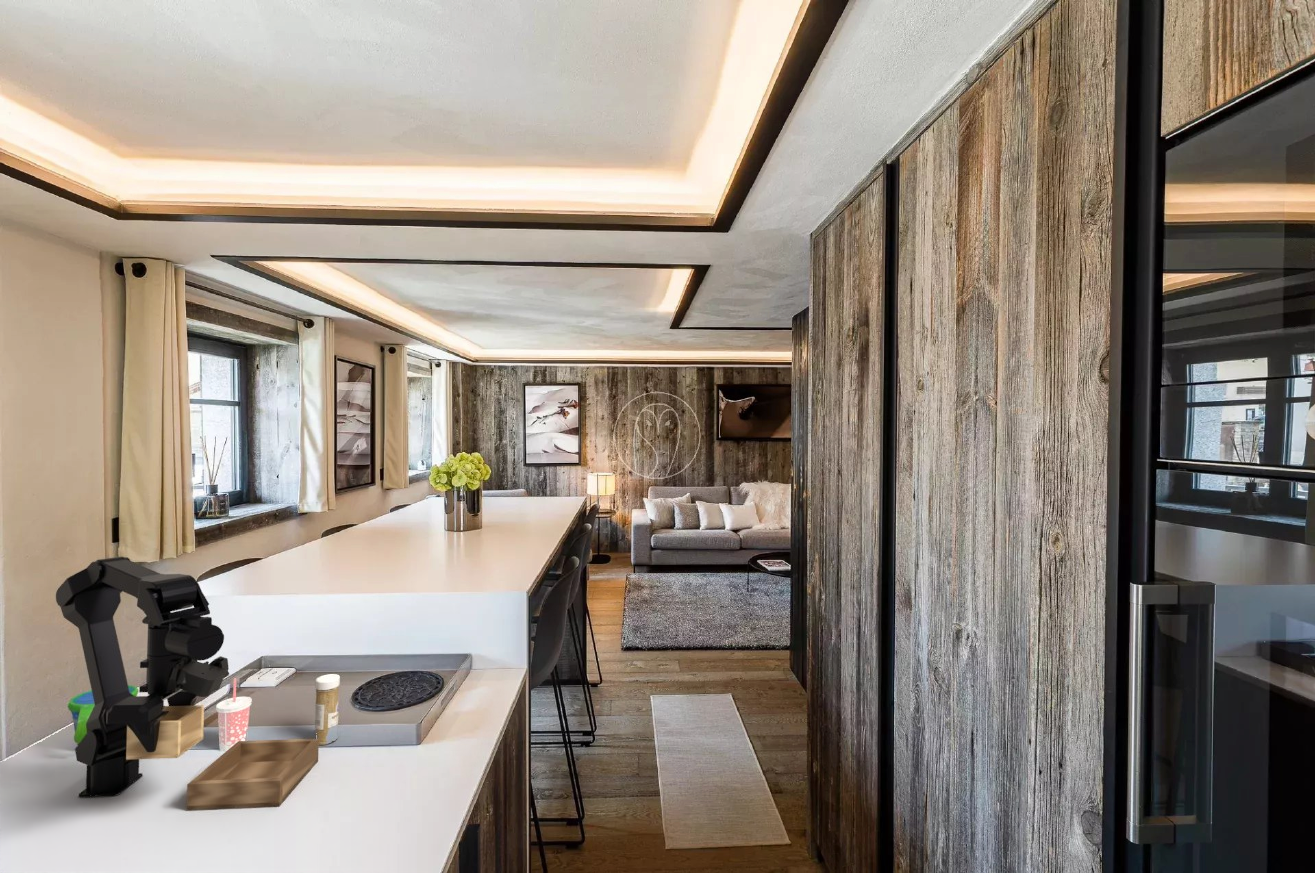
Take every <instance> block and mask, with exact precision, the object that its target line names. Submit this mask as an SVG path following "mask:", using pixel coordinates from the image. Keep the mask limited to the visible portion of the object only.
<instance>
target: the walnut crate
mask: <svg viewBox="0 0 1315 873" xmlns="http://www.w3.org/2000/svg"><path fill="white" fill-rule="evenodd" d="M319 746H320V745H319V739H315V738H297V739H295V738H293V739H292V738H290V739H269V740H268V739H263V740H247V741H238V742H237V743H236V744H234V745H233V746H232V747H231V748H230V749H228V750H227V751H226V752H225V751H224V753H223V754H221V755H220V756H219V757H218V758H217V759H216V760H214V761H213V762H212V763H210V764H209V765H208V766H207V767H206V768H205V769H203V771H201V772H200V773H199V774H198V775H197V776H196V777H194V778H193V779H192V780H191V781H190V782H188V783H187V784H186V785H187V786H186V788H187V789H186V811H189V812H190V811H208V810H209V811H210V810H211V811H212V810H213V811H214V810H230V809H231V810H234V809H255V808H279V807H280V806H282V804H283V803H284V802H285V801H286V799H287V798H288V797H289V796H290V795H291V793H293V791H294V790H295V789H296V788H297V787H298V785H299V784H300V783H301V782H302V781H303V780H304V779H305V777H306V776H307V775H308V774H309V773H310V771H311V770H312V769H313V768H314V767H315V765H316V764H317V763H318V762H319Z"/></svg>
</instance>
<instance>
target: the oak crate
mask: <svg viewBox="0 0 1315 873" xmlns="http://www.w3.org/2000/svg"><path fill="white" fill-rule="evenodd" d="M162 711H169V713H168V714H167V715H166V716H165V717H163V718H162V719H161V721H160V726H159V734H158V741H157V746H156V750H155V751H154V752H147V751H146V750H145V748H144V747H143V745H142V744H141V742H140V741H139V740H138V738H137V737H136V735H135V734H134V733H133V731H132V730H131V729H130V728H129V727H128V726H127V748H126V760H128V759H139V760H152V759H153V760H154V759H155V760H156V759H157V760H159V759H178V758H179V757H181V756H182V755H185V753H187V752H188V751H189V750H191V749H192V748H193V747H194V746H196V745H197V744H199V743H200V742H202V740H204V721H205V720H204V719H205V717H204V716H205V705H204V704H203V705H200V704H199V705H197V704H196V705H195V704H194V705H193V706H169V705H164V708H163V710H162Z"/></svg>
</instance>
